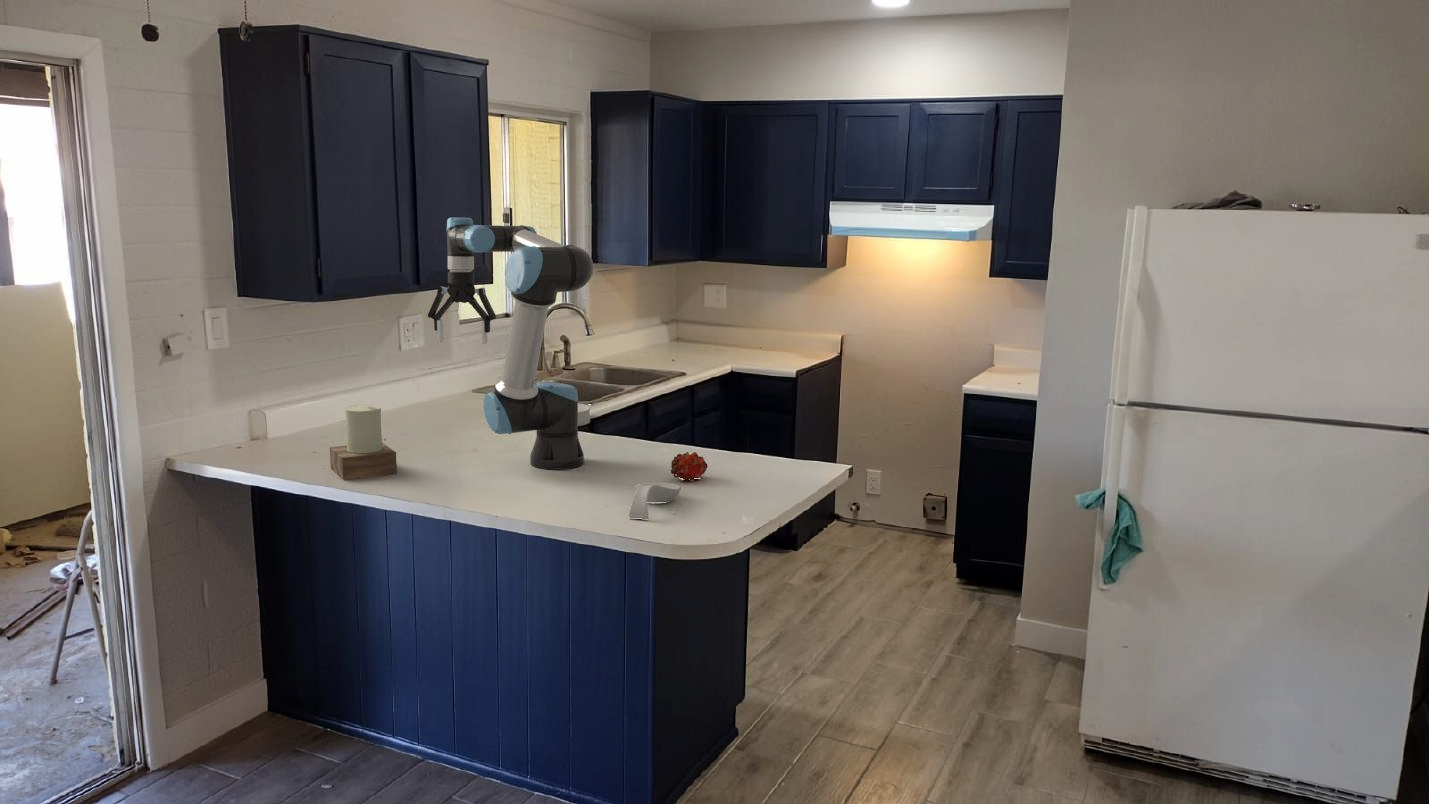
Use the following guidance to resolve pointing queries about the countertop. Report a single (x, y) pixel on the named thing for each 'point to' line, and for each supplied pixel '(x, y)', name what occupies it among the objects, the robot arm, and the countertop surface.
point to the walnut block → (362, 463)
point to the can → (363, 429)
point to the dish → (583, 414)
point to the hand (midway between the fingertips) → (462, 342)
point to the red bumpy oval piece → (688, 466)
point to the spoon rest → (651, 497)
